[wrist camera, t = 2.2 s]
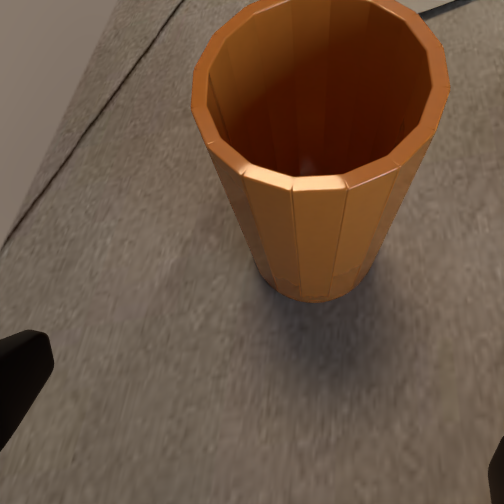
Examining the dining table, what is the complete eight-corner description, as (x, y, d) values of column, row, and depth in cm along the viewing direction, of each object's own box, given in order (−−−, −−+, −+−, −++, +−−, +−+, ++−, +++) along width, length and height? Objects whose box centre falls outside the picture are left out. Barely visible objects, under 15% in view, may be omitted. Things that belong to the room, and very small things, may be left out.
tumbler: (315, 329, 21) (321, 245, 9) (229, 247, 24) (143, 92, 11) (399, 241, 22) (506, 61, 10) (309, 170, 24) (308, -49, 12)
